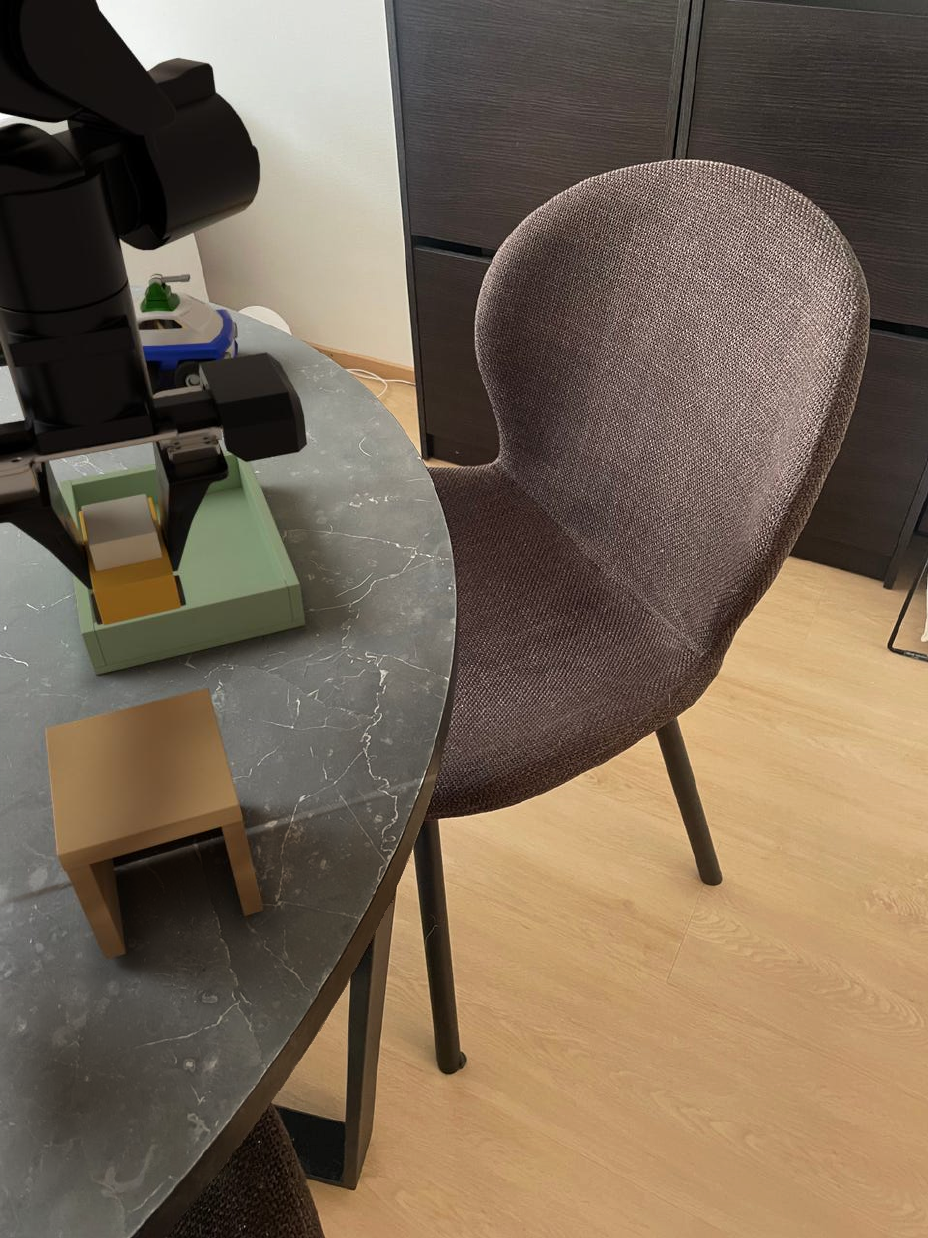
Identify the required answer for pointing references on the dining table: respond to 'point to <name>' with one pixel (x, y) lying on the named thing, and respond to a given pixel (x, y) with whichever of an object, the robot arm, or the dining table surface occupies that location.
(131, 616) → the small car
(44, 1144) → the dining table surface
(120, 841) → the oak stand
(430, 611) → the dining table surface
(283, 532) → the dining table surface
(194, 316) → the toy car
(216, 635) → the green box
